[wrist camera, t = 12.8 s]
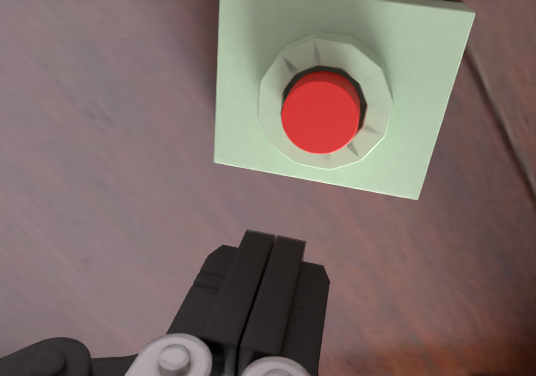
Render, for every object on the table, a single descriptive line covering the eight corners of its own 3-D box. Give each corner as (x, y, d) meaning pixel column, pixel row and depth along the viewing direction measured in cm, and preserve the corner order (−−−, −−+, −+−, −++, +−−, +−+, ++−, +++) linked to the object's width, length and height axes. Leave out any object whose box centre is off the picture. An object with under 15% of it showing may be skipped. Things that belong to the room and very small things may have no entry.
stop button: (283, 134, 23) (277, 147, 22) (291, 65, 21) (285, 74, 20) (352, 146, 23) (350, 160, 21) (367, 76, 21) (366, 87, 19)
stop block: (228, 141, 29) (203, 176, 25) (237, -25, 24) (207, -18, 20) (413, 174, 28) (420, 217, 23) (464, 3, 23) (484, 17, 18)
